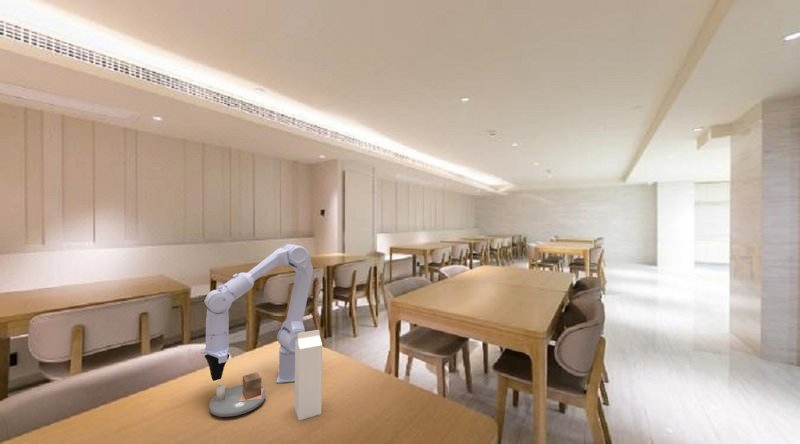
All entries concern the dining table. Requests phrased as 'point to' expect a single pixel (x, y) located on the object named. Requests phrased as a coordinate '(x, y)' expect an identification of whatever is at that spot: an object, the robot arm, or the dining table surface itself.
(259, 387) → the walnut block
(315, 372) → the milk
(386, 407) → the dining table surface
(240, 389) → the turntable
